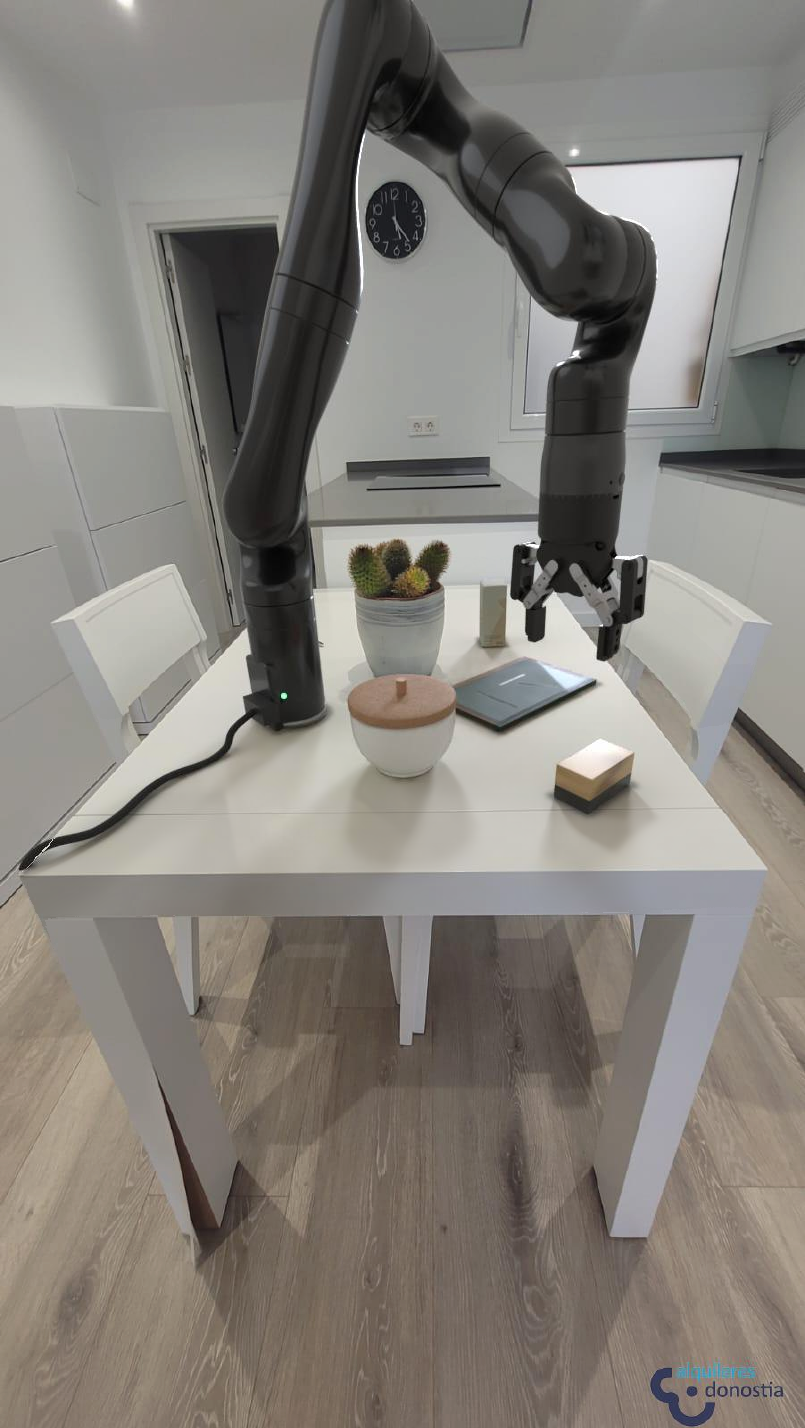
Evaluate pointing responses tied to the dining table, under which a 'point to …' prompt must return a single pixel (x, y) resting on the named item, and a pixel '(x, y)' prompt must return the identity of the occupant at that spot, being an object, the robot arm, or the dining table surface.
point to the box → (493, 612)
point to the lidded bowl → (403, 722)
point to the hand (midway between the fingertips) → (569, 649)
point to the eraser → (593, 775)
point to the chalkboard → (516, 692)
